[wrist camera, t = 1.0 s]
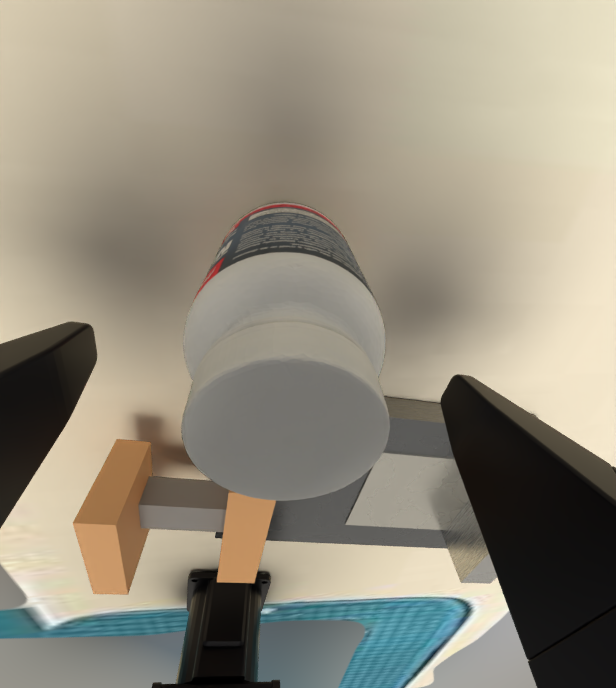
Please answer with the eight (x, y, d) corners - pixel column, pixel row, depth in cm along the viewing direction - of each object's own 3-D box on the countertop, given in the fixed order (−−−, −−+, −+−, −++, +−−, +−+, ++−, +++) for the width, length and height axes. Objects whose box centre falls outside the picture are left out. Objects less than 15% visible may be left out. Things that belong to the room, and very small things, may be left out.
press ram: (257, 527, 21) (252, 605, 17) (128, 521, 20) (96, 603, 16) (278, 439, 17) (277, 519, 13) (115, 424, 15) (68, 507, 12)
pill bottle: (218, 192, 12) (114, 302, 5) (360, 208, 13) (470, 328, 5) (221, 321, 15) (160, 518, 8) (337, 329, 16) (387, 518, 8)
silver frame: (447, 527, 26) (475, 597, 22) (218, 515, 23) (206, 592, 19) (534, 414, 19) (595, 485, 16) (234, 378, 17) (220, 453, 13)
